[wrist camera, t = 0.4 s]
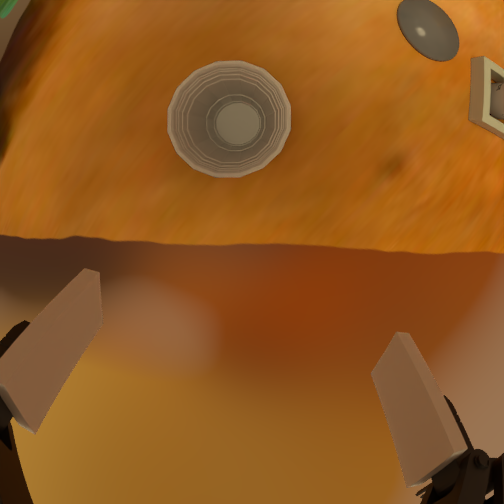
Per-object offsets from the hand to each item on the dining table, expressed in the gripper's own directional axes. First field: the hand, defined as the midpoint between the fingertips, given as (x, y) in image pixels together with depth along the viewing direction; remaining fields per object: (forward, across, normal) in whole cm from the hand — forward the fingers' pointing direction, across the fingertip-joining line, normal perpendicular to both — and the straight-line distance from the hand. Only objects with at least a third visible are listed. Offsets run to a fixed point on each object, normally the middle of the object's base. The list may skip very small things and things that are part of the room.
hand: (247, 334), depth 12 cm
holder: (+28, +33, +26) cm, 50 cm away
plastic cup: (+28, -4, +8) cm, 29 cm away
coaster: (+28, +18, +32) cm, 46 cm away
